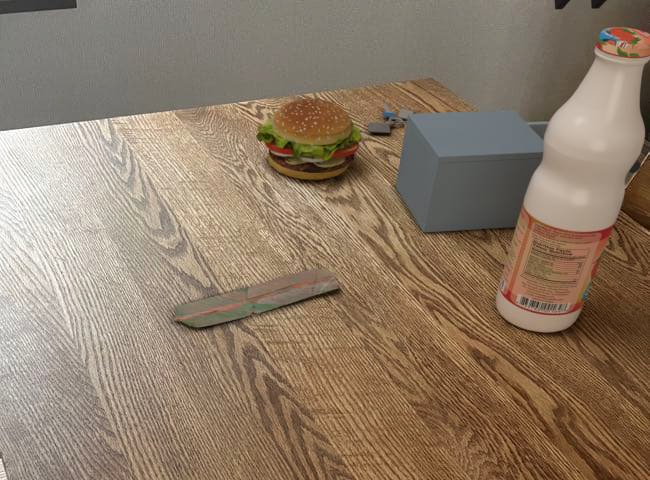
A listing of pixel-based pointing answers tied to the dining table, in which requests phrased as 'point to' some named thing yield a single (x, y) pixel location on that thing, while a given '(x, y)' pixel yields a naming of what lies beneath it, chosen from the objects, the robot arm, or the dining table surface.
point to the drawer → (541, 129)
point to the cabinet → (467, 168)
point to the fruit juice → (576, 189)
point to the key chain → (386, 125)
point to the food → (310, 139)
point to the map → (256, 298)
